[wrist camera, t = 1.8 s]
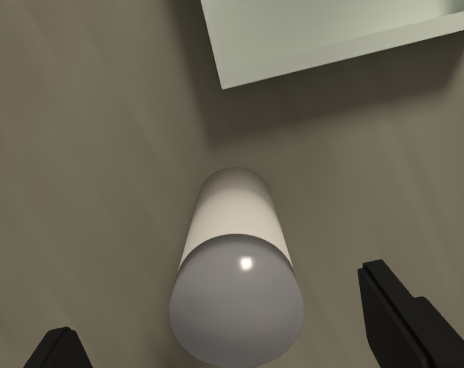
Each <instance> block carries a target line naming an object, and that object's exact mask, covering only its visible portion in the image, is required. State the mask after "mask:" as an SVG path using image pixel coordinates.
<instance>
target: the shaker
mask: <svg viewBox="0 0 464 368" xmlns="http://www.w3.org/2000/svg"><path fill="white" fill-rule="evenodd" d="M169 321H170V325H171V329H172V331H173V333H174V336H175V337H176V339H177V340H178V342H179V343H180V344H181V346H182V347H183V348H184V349H185V350H186V351H187V352H188V353H190V354H191V355H192V356H194V357H195V358H197V359H199V360H201V361H202V362H205V363H207V364H210V365H213V366H216V367H221V368H252V367H256V366H260V365H263V364H266V363H268V362H270V361H272V360H274V359H276V358H277V357H279V356H281V355H282V354H283V353H284V352H286V351H287V350H288V349H289V348H290V347H291V346H292V344H293V343H294V342H295V340H296V339H297V337H298V335H299V333H300V331H301V328H302V326H303V321H304V303H303V299H302V296H301V293H300V289H299V286H298V283H297V280H296V276H295V273H294V270H293V266H292V263H291V260H290V257H289V253H288V250H287V247H286V243H285V240H284V237H283V234H282V230H281V227H280V224H279V220H278V217H277V214H276V211H275V207H274V204H273V201H272V197H271V194H270V191H269V189H268V186H267V185H266V183H265V182H264V181H263V179H262V178H261V177H259V176H258V175H257V174H255V173H254V172H252V171H250V170H247V169H243V168H236V167H235V168H226V169H223V170H220V171H218V172H216V173H214V174H213V175H211V176H210V177H209V178H208V179H207V180H206V181H205V183H204V184H203V186H202V187H201V190H200V192H199V196H198V200H197V203H196V207H195V211H194V214H193V218H192V222H191V226H190V229H189V233H188V237H187V240H186V244H185V248H184V252H183V255H182V259H181V263H180V266H179V270H178V274H177V278H176V281H175V285H174V289H173V292H172V296H171V300H170V305H169Z"/></svg>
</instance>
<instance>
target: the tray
mask: <svg viewBox="0 0 464 368" xmlns="http://www.w3.org/2000/svg"><path fill="white" fill-rule="evenodd" d="M201 3H202V8H203V12H204V16H205V20H206V24H207V29H208V33H209V37H210V41H211V45H212V50H213V54H214V58H215V62H216V66H217V70H218V75H219V79H220V83H221V87H222V89H226V88H230V87H235V86H239V85H243V84H247V83H251V82H255V81H259V80H263V79H267V78H271V77H275V76H279V75H283V74H287V73H291V72H295V71H299V70H303V69H308V68H312V67H316V66H320V65H324V64H328V63H332V62H336V61H340V60H344V59H348V58H352V57H356V56H360V55H364V54H368V53H372V52H376V51H380V50H385V49H389V48H393V47H397V46H401V45H405V44H409V43H413V42H417V41H421V40H425V39H429V38H433V37H437V36H441V35H445V34H449V33H453V32H458V31H462V30H464V0H201Z"/></svg>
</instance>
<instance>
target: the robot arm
mask: <svg viewBox="0 0 464 368" xmlns="http://www.w3.org/2000/svg"><path fill="white" fill-rule="evenodd" d="M358 278H359V285H360V292H361V299H362V306H363V313H364V320H365V327H366V334H367V339H368V343H369V345H370V348H371V350H372V352H373V354H374V356H375V358H376V360H377V362H378V363H379V365H380V367H381V368H464V340H463V339H462V338H461V337H460V336H459V335H458V334H457V332H456V331H455V330H454V329H453V328H452V327H451V326H450V324H449V323H448V322H447V321H446V320H445V319H444V318H443V316H442V315H441V314H440V313H439V312H438V311H437V310H436V308H435V307H434V306H433V305H432V304H431V303H430V302H429V301H428V300H427V299H426V298H425V297H423V296H421V297H416V298H413V296H412V295H411V294H410V293H409V291H408V290H407V289H406V288H405V287H404V285H403V284H402V283H401V282H400V281H399V279H398V278H397V277H396V276H395V274H394V273H393V272H392V271H391V270H390V268H389V267H388V266H387V265H386V264H385V262H384V261H383V260H381V259H380V260H375V261H370V262H366V263H363V268H360V269H358ZM23 368H93V367H92V365H91V363H90V360H89V358H88V356H87V354H86V352H85V350H84V348H83V345H82V343H81V341H80V339H79V337H78V335H77V333H76V331H74V330H71V329H70V328H69V327H63V328H58V329H53V330H50V331H48V332H47V333H46V335H45V336H44V338H43V339H42V341H41V342H40V343H39V345H38V346H37V348H36V349H35V351H34V352H33V354H32V355H31V357H30V358H29V360H28V361H27V363H26V364H25V366H24V367H23Z"/></svg>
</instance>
